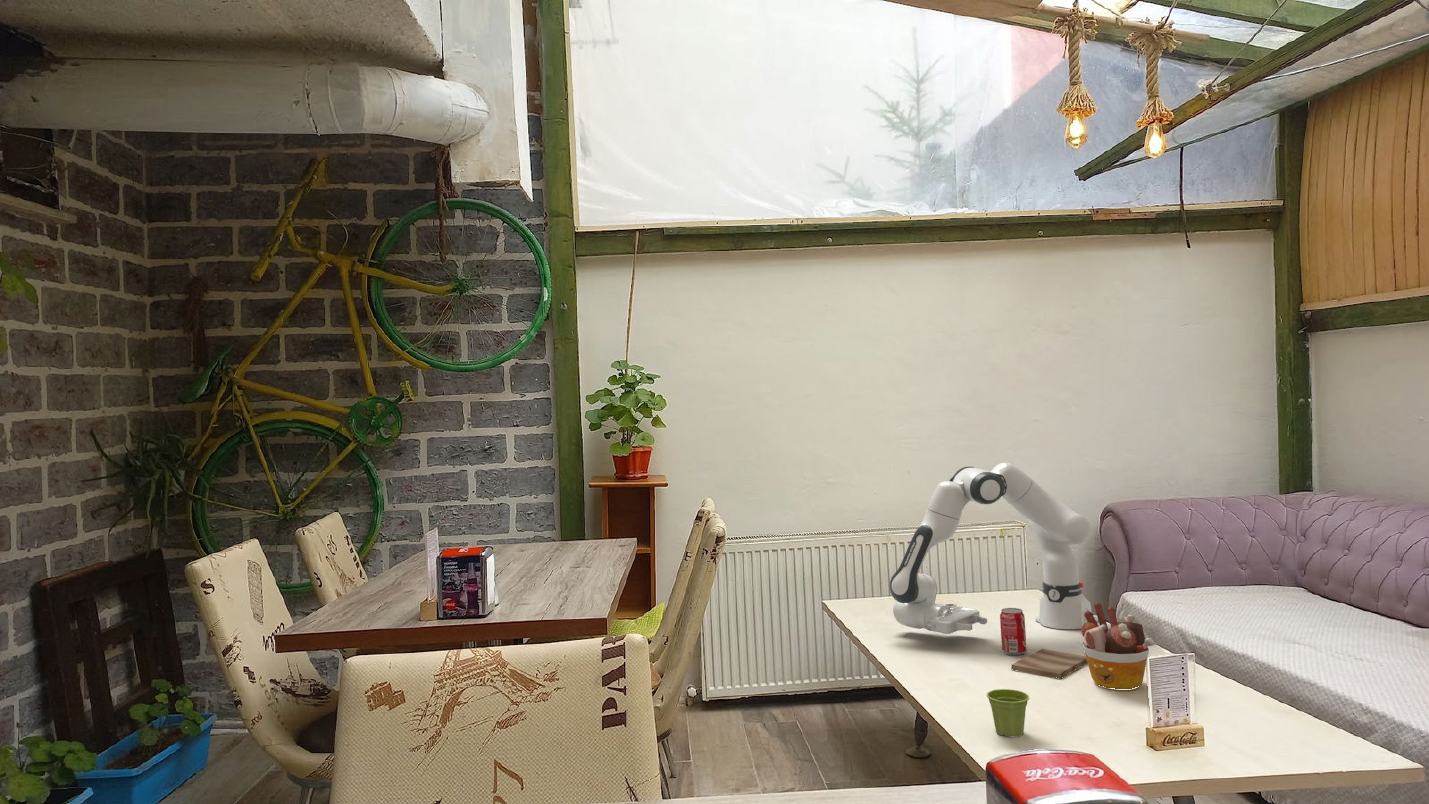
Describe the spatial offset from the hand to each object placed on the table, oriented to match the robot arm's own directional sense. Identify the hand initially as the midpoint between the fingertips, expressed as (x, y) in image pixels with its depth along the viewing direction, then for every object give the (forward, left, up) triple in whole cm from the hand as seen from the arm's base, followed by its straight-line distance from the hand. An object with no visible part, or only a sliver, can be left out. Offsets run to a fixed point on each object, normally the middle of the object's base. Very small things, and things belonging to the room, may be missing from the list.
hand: (978, 624), depth 270 cm
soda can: (0, +11, -7) cm, 13 cm away
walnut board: (+6, +25, -7) cm, 27 cm away
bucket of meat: (+11, +45, -7) cm, 47 cm away
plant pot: (+60, +39, -7) cm, 72 cm away
